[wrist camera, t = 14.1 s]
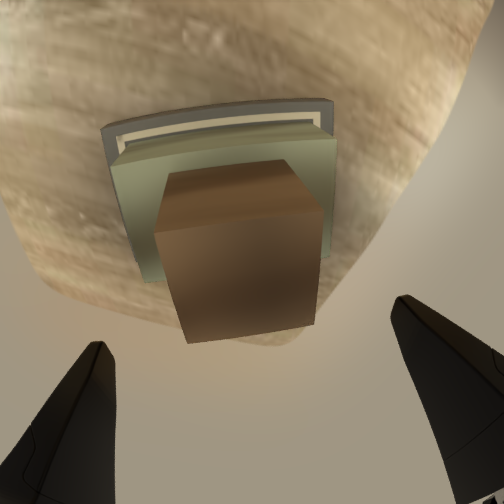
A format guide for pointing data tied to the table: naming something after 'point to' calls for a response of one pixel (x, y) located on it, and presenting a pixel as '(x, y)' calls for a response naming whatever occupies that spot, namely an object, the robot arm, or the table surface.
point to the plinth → (213, 122)
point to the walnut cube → (240, 249)
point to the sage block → (211, 155)
